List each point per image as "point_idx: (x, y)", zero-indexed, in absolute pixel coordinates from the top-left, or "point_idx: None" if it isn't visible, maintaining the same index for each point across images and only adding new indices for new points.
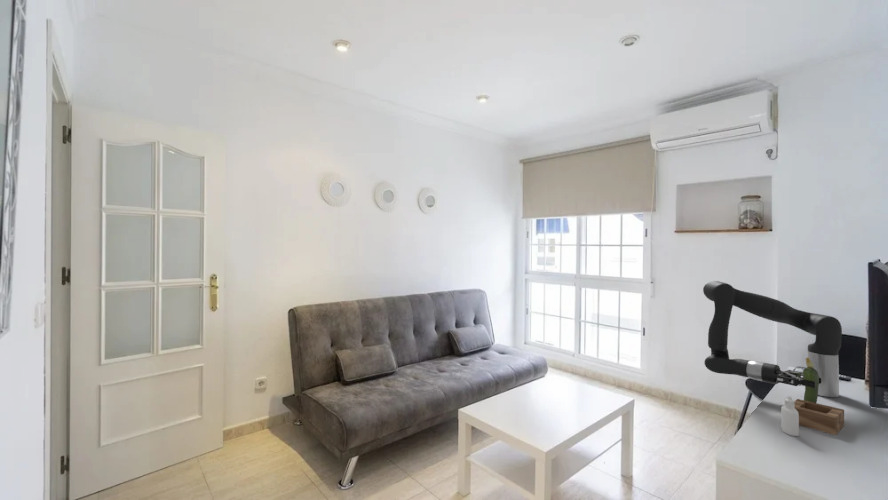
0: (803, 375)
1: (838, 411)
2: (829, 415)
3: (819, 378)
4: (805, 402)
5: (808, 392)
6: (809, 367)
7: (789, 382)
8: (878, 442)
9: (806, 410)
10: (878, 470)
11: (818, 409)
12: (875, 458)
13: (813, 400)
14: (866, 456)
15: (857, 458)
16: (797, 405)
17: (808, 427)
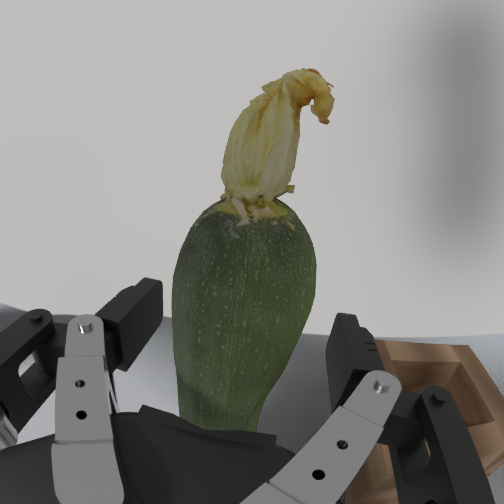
0: (272, 339)
1: (400, 346)
2: (466, 355)
3: (158, 286)
4: None
5: (254, 427)
6: (277, 199)
7: (408, 480)
8: (389, 339)
9: (498, 396)
10: (500, 334)
11: None
12: (472, 339)
13: None
14: (479, 345)
15: (498, 350)
16: (487, 431)
17: None
